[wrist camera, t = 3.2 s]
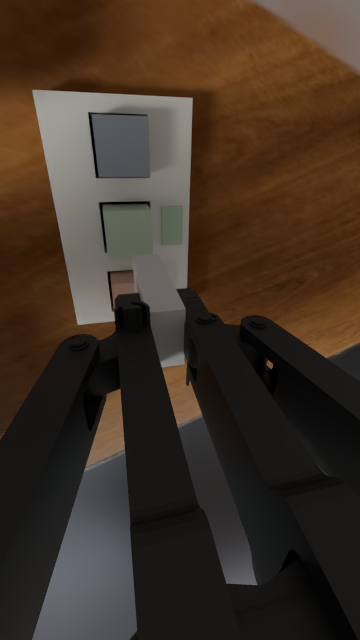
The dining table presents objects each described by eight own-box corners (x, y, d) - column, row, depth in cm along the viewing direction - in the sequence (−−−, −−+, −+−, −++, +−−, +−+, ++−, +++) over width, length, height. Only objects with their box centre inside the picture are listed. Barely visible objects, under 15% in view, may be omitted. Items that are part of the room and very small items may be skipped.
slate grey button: (145, 173, 26) (150, 177, 23) (98, 173, 25) (98, 177, 23) (142, 119, 24) (148, 116, 21) (92, 117, 23) (91, 114, 20)
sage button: (148, 245, 29) (152, 255, 27) (107, 247, 29) (108, 258, 26) (146, 203, 27) (151, 209, 25) (102, 204, 26) (102, 211, 24)
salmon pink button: (150, 303, 33) (155, 317, 30) (114, 306, 32) (115, 321, 29) (149, 269, 31) (153, 281, 28) (110, 271, 30) (111, 284, 27)
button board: (180, 302, 36) (186, 314, 34) (79, 311, 34) (77, 325, 31) (183, 102, 26) (193, 97, 23) (39, 95, 24) (31, 89, 21)
